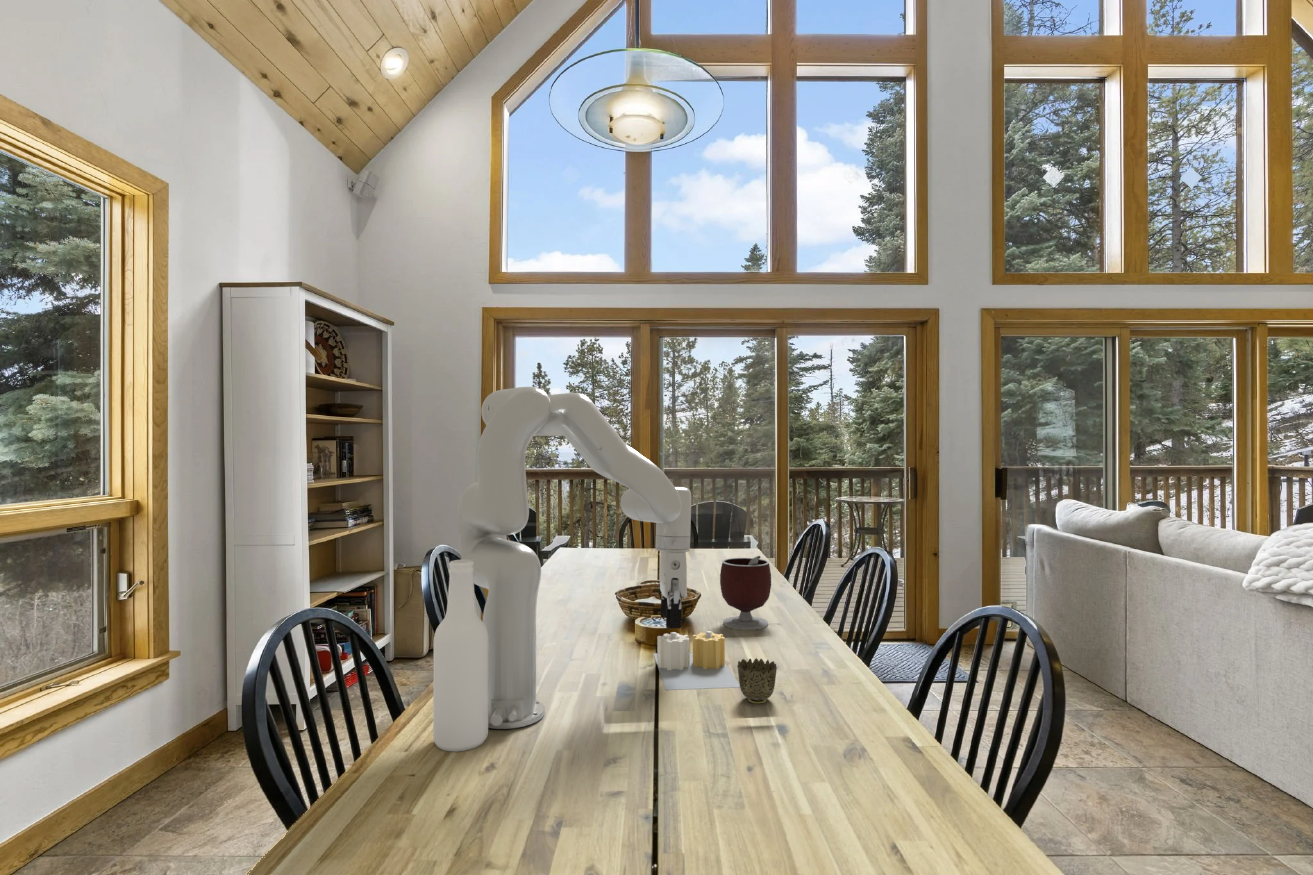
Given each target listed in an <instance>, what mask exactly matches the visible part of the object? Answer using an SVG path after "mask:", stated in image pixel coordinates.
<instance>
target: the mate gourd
mask: <svg viewBox="0 0 1313 875" xmlns="http://www.w3.org/2000/svg"><path fill="white" fill-rule="evenodd" d="M721 562H722V563H721V567H720V575H719V584H720V591H721V596H722V598H723V599H724V601H725V603H726V604H727V605H728V606H730V607H731V608H734V609H737V610H738V611H739V612H740V613H739V616H737V615H736V616H730V617H726V618H724V619H723V620H722V624H723V626H725V627H727V628H730V629H733V630H739V629H741V630H740V631H757V630H756V629H758V630H762V629H766V628H767V627H769V621H768V620H767V619H765V618H762V617H756V616H752V615H753V614H752V613H751V612H752V611H755V610H757V609H759V608H762V607H763V606H765V604H766V603H767V601H768V600H769V599H770V598H769V597H770V595H771V588H772V572H771V566H770V561H769V560H766V559H761V556H760V555H757V556H755V557H729V558H725V559H723V560H722V561H721Z"/></svg>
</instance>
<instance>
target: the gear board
mask: <svg viewBox="0 0 1313 875" xmlns="http://www.w3.org/2000/svg"><path fill="white" fill-rule="evenodd" d="M712 632H713V631H711V630H710V631H709V630H706V631H705V633H706V638H712ZM670 639H677V632H675V631H672V632H670ZM653 657H654V659H655V663H656V666H657V668H658V671H659V674H660V677H661V680H662V683H663V686H664V688H665V691H678V690H679V691H680V690H682V691H683V690H702V689H703V690H706V689H729V688H731V689H732V688H734V689H735V688H740V683H739V681H738V680H737V678H736V677H735V676H734V674H733V673H732V671H731V670H730V669H729V667H728V664H726V663H725V665H724V666H719V668H718V669H715V668H708V669H703V667H695V666H694V663H693V651H690V666H689V667H684V668H683V670H679V669H672V670H667V668H659V667H658V664H657V652H655V653H653Z"/></svg>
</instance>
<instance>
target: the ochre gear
mask: <svg viewBox="0 0 1313 875" xmlns="http://www.w3.org/2000/svg"><path fill="white" fill-rule="evenodd" d="M711 632H712V638H706V632H698V634H693V635H692V652H693V663H694V666H695V667H703V669H708V668H715V669H718V668H719V666H724V665H725V664H726V637H724V634H722V633H719V634H718V633H715V632H713V631H711Z"/></svg>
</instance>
